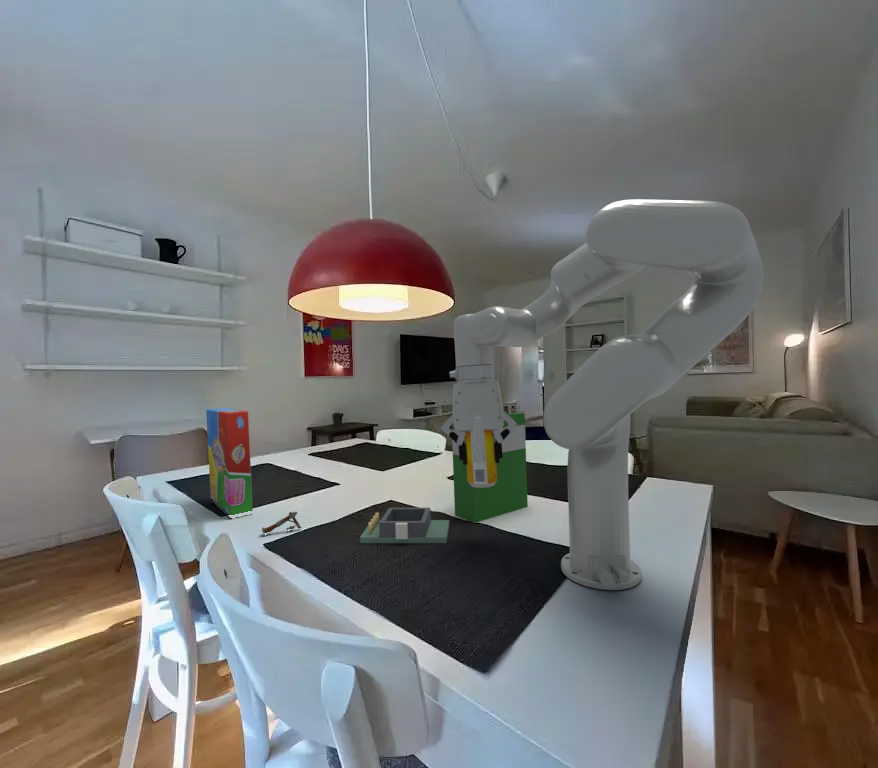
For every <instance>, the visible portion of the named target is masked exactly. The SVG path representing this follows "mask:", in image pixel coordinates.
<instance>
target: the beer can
mask: <svg viewBox="0 0 878 768" xmlns="http://www.w3.org/2000/svg"><path fill="white" fill-rule="evenodd" d="M474 417H475V418H473V430H472V431H470V432H466V434H465V446H466V461H467V464H466V465H467V480H468V483H469V484H470V485H471V486H472V487H476V488H485V487H491V486H494V485H495V483H496V481H497V468H496V456H495V439H494V434H493V432H492V430H490V431H488V430H485V429H484V421H483V418H484V417H481V416H480V415H477V416H474Z"/></svg>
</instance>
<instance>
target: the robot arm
mask: <svg viewBox="0 0 878 768" xmlns="http://www.w3.org/2000/svg"><path fill="white" fill-rule="evenodd" d="M585 241H586V242H585V243H584V244H582V245H581V246H579V247H578V248H577V249H575V250H574V251H572V252H571V253H569V254H568V255H567V256H565V257H564V258H562V259H560V260H559V261H557V263H555V264H554V265H553V266H552V269H551V271H550V278H551V281H550V285H549V287H548V288H547V290H546V291H545V292H544V293H543V294H542V295H541V296H540V297H537V299H535V300H534V301H532V302H531V303H529V304H528V305H526V306H525V307H523V308H521V309H518V308H512V307H506V306H500V305H499V306H497V305H496V306H490V307H487V308H485V309H482V310H479V311H477V312H475V313H467V314H461V315H459V316H456V317H455V318H454V320H453V336H454V337H453V339H454V353H455V364H456V365H455V366H456V367H455V369H454V370H451V371H449V378H450V379H452V378H454V379H456V380H457V382H456V383H453V385H452V388H453V389H452V414H451V415H450V417H448V419H447V420H446V421H445V422H444V423H443V425H442V426H441V427H440V429H441V431H442V432H443V433H445V435H447V436H448V437H449V438H450V439H451V441H452V440H454V441H455V442H456V443H457V444H458V445H459V459H460V460H463V465H466V464H467V461H466V446H465V442H464V437H465V434H466V432H470V431H472V430H473V418H475V417H474V416H477V415H480V416H481V417H484V418H483V421H484V429H485V430H488V431H490V430H492V432H493V434H494V436H495V438H496V439H495V456H496V463H500V461H499V458H503V456H502V442H503V440H504V439H505V438H506V437H507V436H508V435H509V433H510V432H511V431H512V430H513V429H514V428H515V427H516V426H517V423H516V422H515V421H514V420H513V419H512V418H511V417H510V416H508V415H507V414H508V413H507V414H506V413H505V412H504V409H503V408H504V407H503V400H502V394H501V387H500V384H499V380H495V377H494V376H495V374H494V365H493V364H494V361H493V349H492V348H493V347H501V348H502V347H503V348H504V347H510V348H522V347H526V346H527V347H528V346H531V344H533V343H536V342H537V341H539V340H541V339H542V338H544V337H545V336H548V335H550V334H551V333H554V331H556V330H557V329H559V328H560V327H561V326H563V325H564V324H565V323H566V322H567V321H568V320H570V318H571V317H572V316H574V315H575V313H576V312H577V311H578V310H579V309H580V308H581V307H582V306H584V305H585V304H587V303H589V302H591V301H592V300H593V299H595V298H597V297H598V296H600V295H602V294H603V293H605V292H606V291H608V290H611V288H614V287H615V286H616V285H618V284H620V283H622V282H624V281H625V280H627V279H628V278H630V277H631V276H633V275H635V274H637V273H638V272H640V271H641V270H643V269H646V267H653V268H660V269H661V268H662V269H670V270H677V271H684V272H685V273H687V274H688V275H689V276H690V277H691V280H692V281H691V284H690V286H689V287H688V289H687V290H686V291H685V292H684V294H681V296H680V297H679V298H677V299H676V300H675V301H673V302H672V303H671V304H670V305H668V307H667V308H665V309H664V310H663V311H662V313H661V314H660V315H659V316H658V317H657V318H656V319H655V320H654V321H652V322H651V324H649V325H648V326H647V327H646V328H645V329H644V330H642V331H641V332H640V333H638V334H627V335H626V334H625V335H621V336H617V337H615V338H613V339H612V340H610V341H608V342H606V343H605V344H603V345H602V346H600V348H599V349H597V350H596V351H595V352H594V353H593V354H592V355H591V356H590V357H589V358H588V359H587V360H586V361H585V362H584V363H582V365H581V366H580V367H579V368H578V369H577V370H575V372H574V373H573V374H572V375H571V376H570V377H569V378H568V379H567V380H566V381H565V382H564V383H563V384H562V385H561V386H560V387H559V388H558V389H557V390H556V391H555V392H554V393H553V395H552V396H551V397H550V399H548V401H547V403H546V405H545V408H544V411H543V416H542V417H543V427H544V429H545V433H546V434H547V436H548V438H549V439H550V441H552V442H553V443H554V444H556V445H557V446H558V447H560V448H563V449H566V450H568V451H567V453H568V454H567V468H566V469H567V499H568V508H567V509H568V531H569V534H568V535H569V553H566V554H565V555H564V556H563V557H562V558H561V561H560V568H561V572H562V573H563V575H565V576H566V577H567V578H568V579H569V580H571V581H573V582H574V583H577V584H579V585H581V586H585V587H588V588H592V589H597V590H603V591H621V590H628V589H630V588H633V587H635V586H636V585H638V584H640V582H641V580H642V571H641V568H640V566H639V565H638V564H637V563H636V562H635V561H634V560H632V559H631V541H630V540H631V539H630V508H629V507H630V506H629V446H630V445H629V443H630V435H631V434H630V433H631V415H632V414H633V413H634V412H635V411H636V410H637V409H638V408H639V407H641V406H643V404H644V403H646V402H647V401H648V400H651V399H654V398H657V397H660V396H661V395H663V394H665V393H666V392H667V391H669V390H670V389H671V388H672V387H673V386H674V384H676V382H677V381H679V379H680V378H682V377H683V376H684V375H685V374H686V373H688V372H689V370H691V369H692V368H694V366H695V365H697V364H698V363H699V362H700V361H701V360H703V359H704V358H705V357H706V356H707V355H708V354H710V352H711V351H712V350H713V349H714V348H716V347H717V346H718V345H719V344H720V343H721V342H722V341H724V340H725V339H726V338H727V337H728V336H729V335H730V334H732V332H734V331H735V330H736V329H737V328H738V327H739V326H740V325H741V324H742V323H743V322H744V320H745V319H746V318H747V317H748V316H749V315H750V313H751V312H752V311H753V309H754V308H755V305H756V304H757V303H758V300H759V298H760V295H761V292H762V289H763V284H764V267H763V262H762V258H761V255H760V252H759V251H760V250H759V249H758V246H757V241H756V240H755V237H754V234H753V231H752V229H751V225H750V223H749V220H748V219H747V217H746V216H745V214H744V213H743V212H742V211H741V210H739V209H738V208H737V207H735V206H733V205H731V204H728V203H725V202H721V201H715V200H699V199H698V200H697V199H695V200H694V199H693V200H692V199H691V200H690V199H689V200H688V199H687V200H686V199H685V200H683V199H682V200H681V199H647V198H646V199H643V198H642V199H641V198H640V199H637V198H636V199H635V198H633V199H622V200H617V201H614V202H610V203H609V204H607V205H605V206H604V207H602V208H601V209H599V210H598V211H597V212H596V213H595V214H594V215H593V217H592V218H591V219H590V221H589V223H588V225H587V228H586V232H585ZM504 420H505V421H506V422H507V423H508V426H507V427H506V428H505V429H504V430H503V431H502V432H501V433H500V432H499V430H498V429H500V428H502V427H503V425H504ZM452 423H453V425H454V429H455V430H457V431H459V432H460V433H459V436H458V435H457V434H456V433H455V432H453V431H452V428H451V427H452Z"/></svg>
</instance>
